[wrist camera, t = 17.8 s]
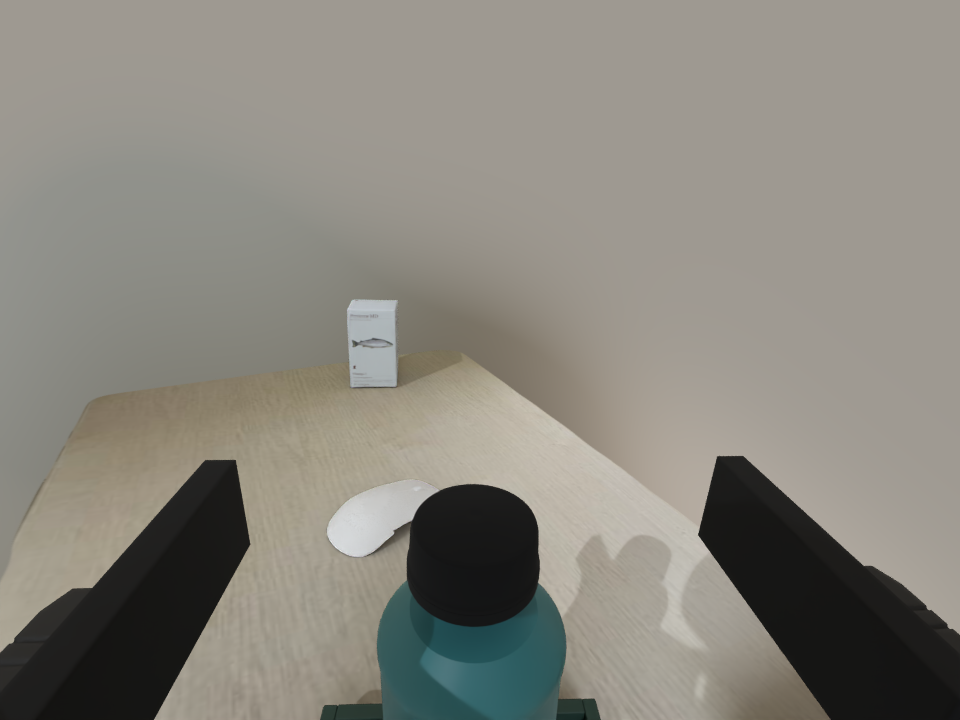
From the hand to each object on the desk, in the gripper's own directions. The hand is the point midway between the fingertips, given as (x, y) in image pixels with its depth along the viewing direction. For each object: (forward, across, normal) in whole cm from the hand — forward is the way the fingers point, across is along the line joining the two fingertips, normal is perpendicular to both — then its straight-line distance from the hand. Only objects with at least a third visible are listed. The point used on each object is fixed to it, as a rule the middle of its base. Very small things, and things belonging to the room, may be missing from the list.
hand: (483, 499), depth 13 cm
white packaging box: (+60, -12, -22) cm, 65 cm away
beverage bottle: (+1, 0, -21) cm, 21 cm away
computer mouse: (+27, -6, -22) cm, 35 cm away
